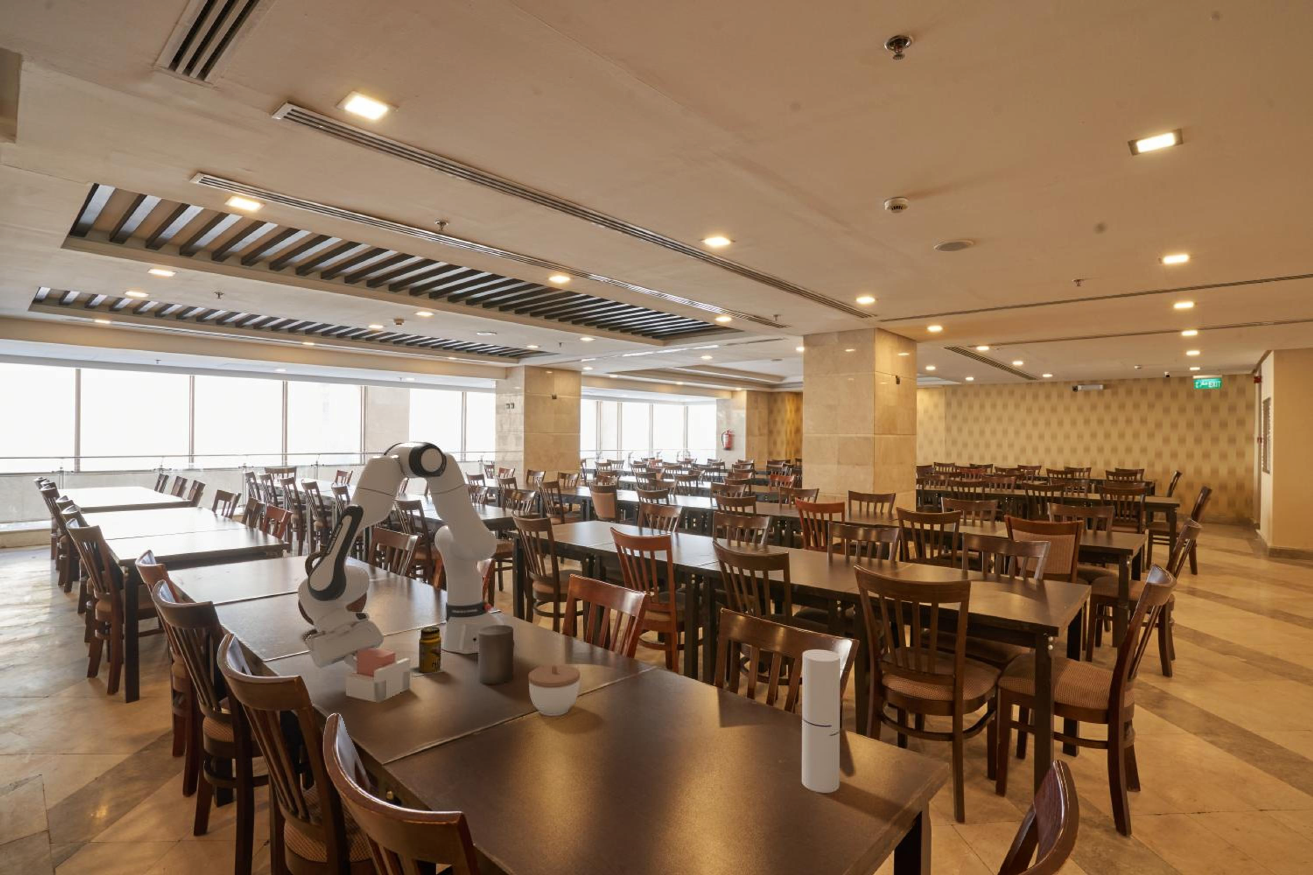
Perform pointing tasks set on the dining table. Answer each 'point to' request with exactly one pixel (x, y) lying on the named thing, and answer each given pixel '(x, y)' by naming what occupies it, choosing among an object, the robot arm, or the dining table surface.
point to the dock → (380, 682)
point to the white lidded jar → (554, 688)
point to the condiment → (429, 652)
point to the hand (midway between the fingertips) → (362, 668)
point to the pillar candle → (495, 654)
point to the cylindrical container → (820, 720)
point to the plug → (373, 660)
